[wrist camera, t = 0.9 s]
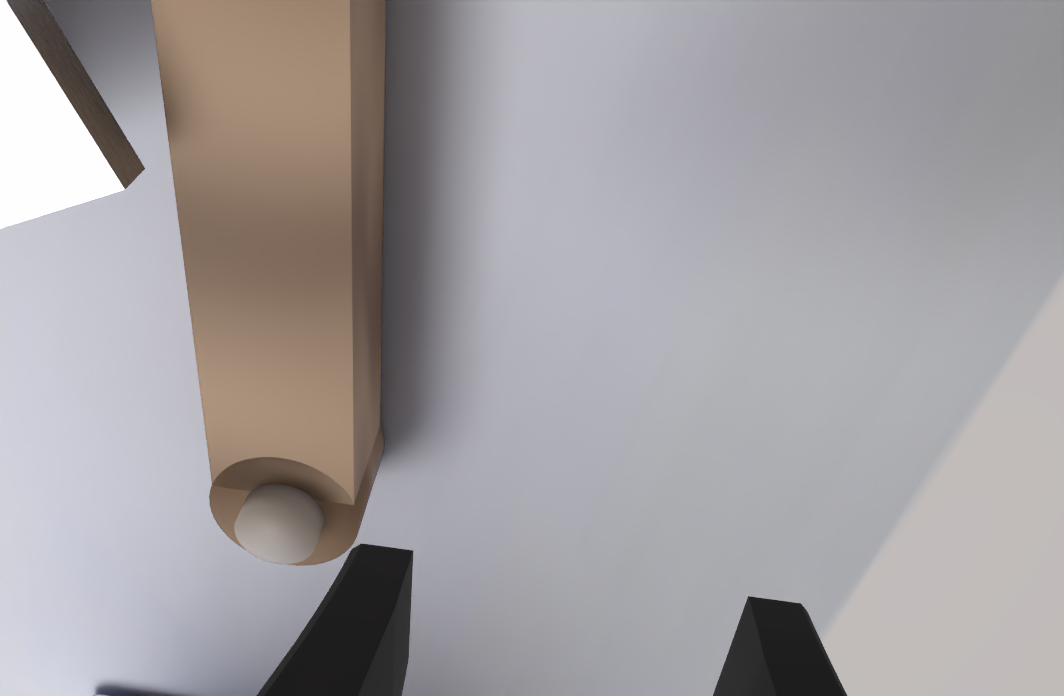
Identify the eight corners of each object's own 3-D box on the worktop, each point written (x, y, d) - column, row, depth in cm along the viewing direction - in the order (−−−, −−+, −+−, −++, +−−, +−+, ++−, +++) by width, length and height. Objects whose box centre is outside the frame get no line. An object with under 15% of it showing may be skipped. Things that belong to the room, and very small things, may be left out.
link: (383, 493, 22) (352, 596, 20) (253, 475, 22) (205, 576, 20) (393, -63, 15) (346, -9, 13) (202, -87, 15) (118, -39, 13)
